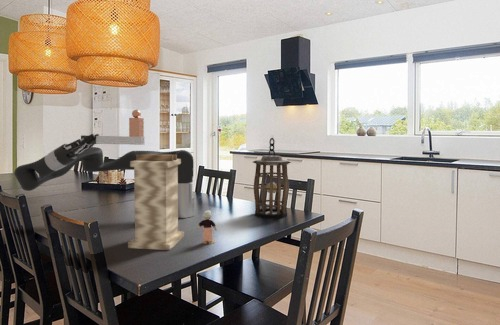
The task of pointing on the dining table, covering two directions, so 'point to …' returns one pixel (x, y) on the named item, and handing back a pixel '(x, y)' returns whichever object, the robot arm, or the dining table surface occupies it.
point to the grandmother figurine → (207, 228)
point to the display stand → (156, 202)
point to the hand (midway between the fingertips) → (96, 136)
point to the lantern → (271, 186)
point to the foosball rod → (134, 136)
